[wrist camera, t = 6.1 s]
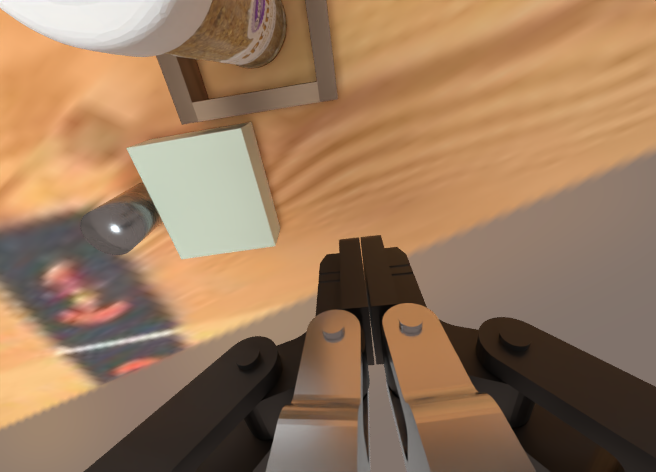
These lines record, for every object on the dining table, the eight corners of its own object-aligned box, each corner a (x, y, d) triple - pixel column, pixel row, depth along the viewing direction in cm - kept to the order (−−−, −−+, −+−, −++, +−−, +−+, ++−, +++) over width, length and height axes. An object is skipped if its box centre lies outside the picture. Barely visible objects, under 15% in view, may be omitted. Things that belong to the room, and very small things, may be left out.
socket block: (311, -113, 13) (308, -150, 11) (336, 96, 18) (337, 99, 16) (132, -75, 14) (97, -102, 12) (198, 118, 18) (182, 124, 16)
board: (252, 121, 19) (240, 128, 16) (281, 226, 23) (275, 246, 20) (153, 138, 19) (126, 147, 17) (197, 238, 23) (181, 259, 21)
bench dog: (163, 179, 20) (119, 207, 16) (179, 216, 22) (143, 251, 18) (124, 185, 21) (69, 214, 16) (143, 221, 22) (97, 257, 18)
